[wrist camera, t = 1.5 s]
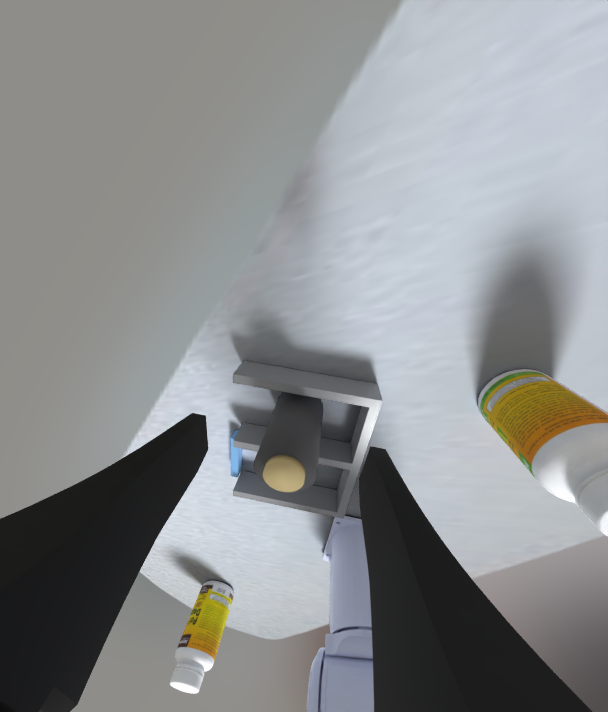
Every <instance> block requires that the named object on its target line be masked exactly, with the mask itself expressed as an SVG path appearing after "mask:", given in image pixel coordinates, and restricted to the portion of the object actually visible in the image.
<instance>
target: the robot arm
mask: <svg viewBox="0 0 608 712" xmlns="http://www.w3.org/2000/svg"><path fill="white" fill-rule="evenodd" d="M207 451H208V440H207V426H206V416H205V415H200V414H194V413H192V414H190V415H189V416H187V417H186V418H184V419H183V420H181V421H180V422H178V423H177V424H175V425H174V426H172V427H171V428H169V429H168V430H166V431H165V432H163V433H162V434H160V435H159V436H157V437H156V438H154V439H153V440H151V441H150V442H148V443H147V444H145V445H144V446H142V447H141V448H139V449H137V450H136V451H134V452H132V453H131V454H129V455H127V456H126V457H124V458H122V459H121V460H119V461H117V462H116V463H114V464H112V465H111V466H109V467H107V468H105V469H104V470H102V471H100V472H98V473H96V474H94V475H92V476H91V477H89V478H87V479H85V480H83V481H81V482H79V483H77V484H75V485H73V486H71V487H69V488H67V489H65V490H63V491H61V492H59V493H57V494H54V495H53V496H51V497H48V498H46V499H44V500H42V501H40V502H38V503H35V504H33V505H31V506H29V507H27V508H24V509H22V510H20V511H18V512H15V513H13V514H11V515H8V516H6V517H4V518H1V519H0V712H70V711H71V710H72V709H73V708H74V707H75V706H76V705H77V704H78V702H79V699H80V697H81V695H82V693H83V690H84V688H85V686H86V683H87V681H88V679H89V677H90V675H91V672H92V670H93V668H94V666H95V663H96V661H97V659H98V657H99V654H100V652H101V650H102V648H103V646H104V643H105V641H106V639H107V637H108V635H109V633H110V631H111V628H112V626H113V624H114V622H115V620H116V618H117V616H118V614H119V612H120V609H121V607H122V605H123V603H124V601H125V599H126V597H127V595H128V593H129V591H130V589H131V587H132V585H133V583H134V581H135V579H136V577H137V575H138V573H139V571H140V569H141V567H142V565H143V563H144V561H145V559H146V557H147V556H148V554H149V552H150V550H151V548H152V546H153V544H154V542H155V540H156V538H157V537H158V535H159V533H160V531H161V530H162V528H163V526H164V525H165V523H166V521H167V520H168V518H169V517H170V515H171V513H172V512H173V510H174V509H175V507H176V505H177V504H178V502H179V501H180V499H181V498H182V496H183V494H184V493H185V491H186V490H187V488H188V486H189V485H190V483H191V481H192V480H193V478H194V477H195V475H196V473H197V472H198V470H199V468H200V466H201V463H202V461H203V459H204V457H205V455H206V453H207ZM359 494H360V510H361V518H362V519H358V518H353V517H348V516H344V519H342V518H337V517H334V521H333V524H332V527H331V530H330V534H329V537H328V540H327V544H326V547H325V550H324V554H323V559H324V560H325V561H330V597H329V624H330V630H331V634H326V638H325V648H320V649H319V651H318V652H317V655H316V656H315V658H314V660H313V663H312V666H311V671H310V676H309V684H308V685H309V686H308V696H307V712H592V711H591V710H590V709H589V708H588V707H587V706H586V705H585V704H584V703H583V702H582V701H581V700H580V699H579V697H577V695H576V694H575V693H574V692H572V690H571V689H570V688H569V687H568V686H567V685H566V684H565V683H564V682H563V681H562V680H561V679H560V678H559V677H558V676H557V675H556V674H555V673H554V672H553V671H552V670H551V669H550V668H549V667H548V666H547V664H546V663H545V662H544V661H543V660H542V659H541V658H540V657H539V656H538V655H537V654H536V652H535V651H534V650H533V649H532V648H531V647H530V646H529V645H528V644H527V643H526V642H525V641H524V639H523V638H522V637H521V636H520V635H519V634H518V633H517V632H516V631H515V629H514V628H513V627H512V626H511V625H510V624H509V623H508V622H507V620H506V619H505V618H504V617H503V616H502V614H501V613H500V612H499V611H498V610H497V609H496V608H495V606H494V605H493V604H492V603H491V602H490V600H488V598H487V597H486V596H485V595H484V594H483V592H482V591H481V590H480V589H479V588H478V586H477V585H476V584H475V583H474V581H473V580H472V579H471V578H470V576H469V575H468V574H467V573H466V571H465V570H464V569H463V568H462V566H461V565H460V564H459V562H458V561H457V560H456V558H455V557H454V556H453V555H452V553H451V552H450V551H449V549H448V548H447V547H446V545H445V544H444V542H443V541H442V540H441V538H440V537H439V535H438V534H437V533H436V531H435V530H434V528H433V527H432V525H431V524H430V522H429V521H428V519H427V518H426V516H425V515H424V513H423V512H422V510H421V509H420V507H419V506H418V504H417V502H416V501H415V499H414V498H413V496H412V494H411V493H410V491H409V490H408V488H407V486H406V485H405V483H404V481H403V479H402V478H401V476H400V474H399V473H398V471H397V469H396V467H395V466H394V464H393V462H392V460H391V458H390V457H389V455H388V453H387V451H386V450H385V449H381V448H376V447H370V449H369V452H368V455H367V458H366V461H365V464H364V467H363V469H362V472H361V475H360V478H359Z"/></svg>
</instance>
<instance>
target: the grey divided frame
mask: <svg viewBox="0 0 608 712" xmlns="http://www.w3.org/2000/svg"><path fill="white" fill-rule="evenodd" d="M233 383H238V384H243V385H249V386H254V387H260V388H265V389H271V390H276V391H282V392H287V393H293V394H298V395H304V396H309V397H315V398H320V399H326V400H331V401H337V402H342V403H348V404H353V405H359V406H361V409H360V413H359V416H358V420H357V423H356V427H355V430H354V434H353V437H352V441H351V443H348V442H342V441H337V440H332V439H327V438H321V439H320V450H319V461H318V464H322V465H327V466H332V467H337V468H342V469H343V472H342V475H341V479H340V482H339V486H338V489H337V490H335V489H330V488H325V487H320V486H315V485H311V486H310V487H309V488H307V489H305V490H302V491H298V492H281V491H278V490H275V489H273V488H271V487H270V486H268V485H267V484H265V483H264V482H263V481H262V480H261V479H260V478H259V477H258V476H257V474H256V473H252V472H247V471H241V469H242V449H247V450H252V451H257V452H258V450H259V447H260V445H261V442H262V440H263V437H264V435H265V432H266V429H267V427H264V426H259V425H254V424H249V423H242V425H241V427H240V429H239V431H238V430H235V431H234V433H233V435H232V437H231V476H234V477H238V476H239V474H240V471H241V474H240V476H239V478H238V481H237V483H236V485H235V488H234V490H233V496H238V497H242V498H247V499H252V500H256V501H261V502H266V503H271V504H275V505H280V506H285V507H290V508H294V509H299V510H304V511H309V512H313V513H318V514H323V515H327V516H332V517H337V518H342V519H344V516H345V513H346V510H347V507H348V504H349V501H350V498H351V495H352V492H353V489H354V486H355V483H356V480H357V477H358V474H359V471H360V468H361V465H362V462H363V458H364V455H365V452H366V449H367V446H368V443H369V440H370V437H371V434H372V431H373V428H374V425H375V422H376V419H377V416H378V413H379V410H380V407H381V404H382V397H381V394H380V391H379V387H378V384H375V383H370V382H364V381H358V380H353V379H347V378H341V377H335V376H330V375H324V374H318V373H313V372H307V371H301V370H296V369H290V368H284V367H279V366H273V365H267V364H261V363H256V362H250V361H243V363H242V364H241V365H240V366H239V368H238V369H237V370H236V371H235V372H234V374H233Z"/></svg>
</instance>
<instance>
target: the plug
mask: <svg viewBox="0 0 608 712" xmlns="http://www.w3.org/2000/svg"><path fill="white" fill-rule="evenodd" d="M322 416H323V404H322V402H321V400H320V398H315V397H309V396H304V395H298V394H293V393H287V392H283V393H282V394H281V395H280V397H279V398H278V401H277V404H276V406H275V409H274V411H273V414H272V416H271V419H270V422H269V424H268V427H267V429H266V432H265V435H264V437H263V440H262V442H261V445H260V447H259V450H258V453H257V455H256V458H255V461H254V469H255V472H256V474H257V476H258V477H259V478H260V479H261V480H262V481H263V482H264V483H265V484H267V485H268V486H270V487H271V488H273V489H275V490H278V491H281V492H298V491H302V490H305V489H307V488H309V487H310V486H311V485H313V483H314V482H315V480H316V478H317V472H318V461H319V450H320V439H321V427H322Z"/></svg>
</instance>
